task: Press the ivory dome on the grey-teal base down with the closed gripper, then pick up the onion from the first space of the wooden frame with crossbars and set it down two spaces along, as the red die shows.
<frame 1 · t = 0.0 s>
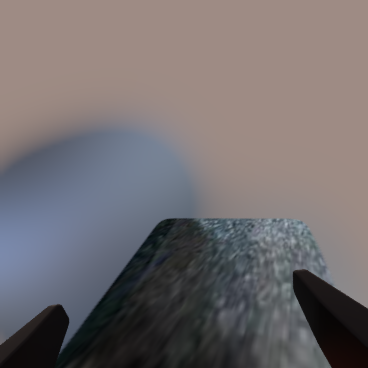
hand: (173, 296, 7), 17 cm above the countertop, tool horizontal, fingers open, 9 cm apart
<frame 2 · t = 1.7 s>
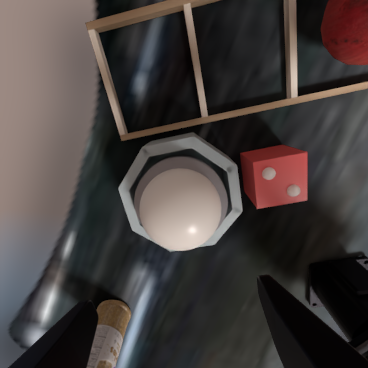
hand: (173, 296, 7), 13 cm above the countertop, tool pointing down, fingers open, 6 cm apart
wooden frame with crossbars: (241, 56, 16), on the countertop
sprinkles bottle: (115, 308, 26), on the countertop
dome: (180, 208, 15), point 5 cm above the countertop, slide at 0.0 cm
onion: (335, 34, 15), resting in wooden frame with crossbars
dome base: (182, 184, 20), on the countertop
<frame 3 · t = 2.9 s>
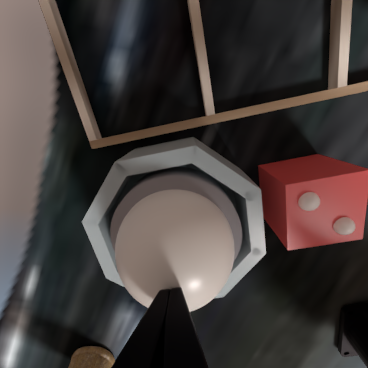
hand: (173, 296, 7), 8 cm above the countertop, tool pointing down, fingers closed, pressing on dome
wooden frame with crossbars: (265, 25, 11), on the countertop
sprinkles bottle: (95, 354, 21), on the countertop
dome: (175, 245, 10), point 5 cm above the countertop, slide at 0.9 cm, touching gripper
dome base: (179, 206, 15), on the countertop
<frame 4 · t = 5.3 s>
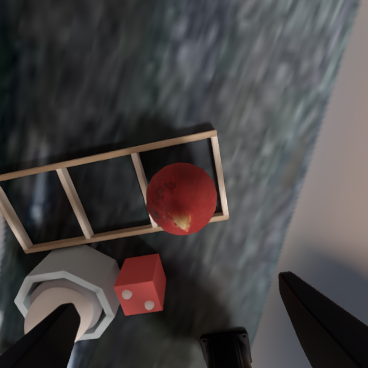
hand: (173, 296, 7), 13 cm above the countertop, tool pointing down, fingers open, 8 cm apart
wooden frame with crossbars: (112, 196, 20), on the countertop
dome: (62, 313, 20), point 4 cm above the countertop, slide at 1.0 cm
onion: (182, 182, 20), resting in wooden frame with crossbars
dome base: (84, 278, 24), on the countertop
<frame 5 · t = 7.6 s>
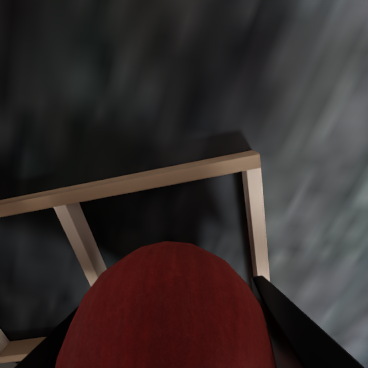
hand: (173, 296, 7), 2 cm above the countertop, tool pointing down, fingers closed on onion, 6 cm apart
wooden frame with crossbars: (33, 281, 10), on the countertop
onion: (176, 255, 9), resting in wooden frame with crossbars, touching gripper
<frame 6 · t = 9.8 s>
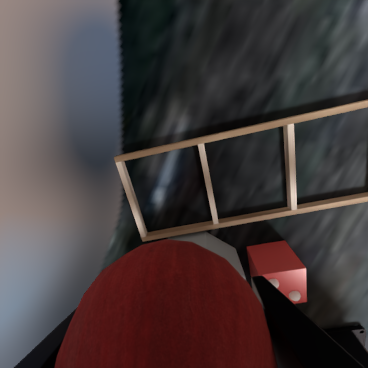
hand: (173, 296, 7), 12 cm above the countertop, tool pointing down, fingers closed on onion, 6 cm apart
wooden frame with crossbars: (247, 176, 18), on the countertop
onion: (176, 254, 9), point 10 cm above the countertop, touching gripper
dome base: (195, 269, 22), on the countertop
when the fingers open (3 cm above the countertop, at t = 12.4 s): onion drops 1 cm, resting in wooden frame with crossbars.
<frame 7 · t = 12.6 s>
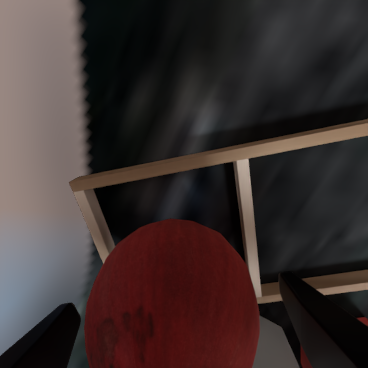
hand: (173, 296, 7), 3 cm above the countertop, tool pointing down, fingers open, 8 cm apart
wooden frame with crossbars: (319, 216, 10), on the countertop
onion: (177, 237, 11), resting in wooden frame with crossbars
dome base: (213, 354, 14), on the countertop
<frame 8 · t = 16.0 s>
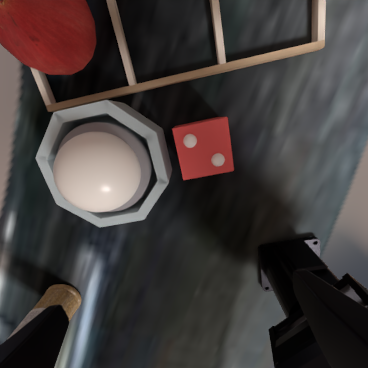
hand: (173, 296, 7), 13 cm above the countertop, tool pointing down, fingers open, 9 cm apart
wooden frame with crossbars: (166, 19, 15), on the countertop
sprinkles bottle: (65, 294, 25), on the countertop
dome: (100, 172, 15), point 4 cm above the countertop, slide at 1.0 cm
onion: (78, 44, 16), resting in wooden frame with crossbars
dome base: (119, 159, 19), on the countertop
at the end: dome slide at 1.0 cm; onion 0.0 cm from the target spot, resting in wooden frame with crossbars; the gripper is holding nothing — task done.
